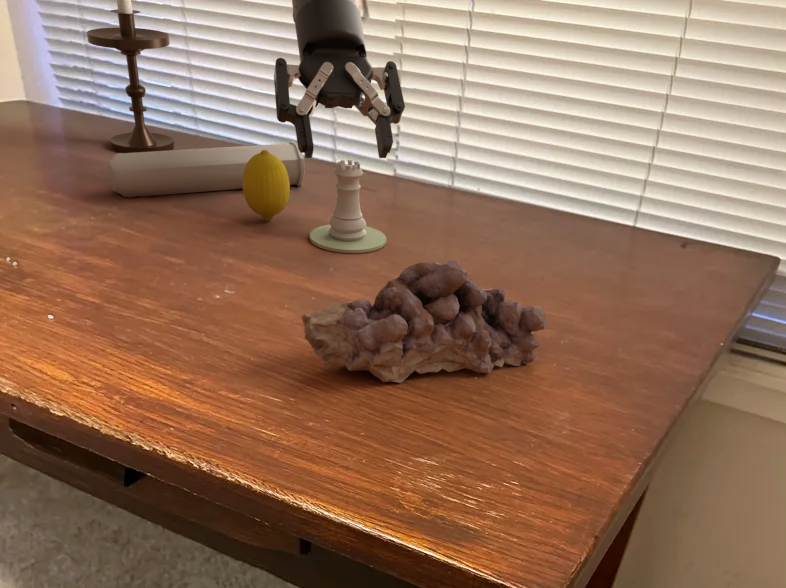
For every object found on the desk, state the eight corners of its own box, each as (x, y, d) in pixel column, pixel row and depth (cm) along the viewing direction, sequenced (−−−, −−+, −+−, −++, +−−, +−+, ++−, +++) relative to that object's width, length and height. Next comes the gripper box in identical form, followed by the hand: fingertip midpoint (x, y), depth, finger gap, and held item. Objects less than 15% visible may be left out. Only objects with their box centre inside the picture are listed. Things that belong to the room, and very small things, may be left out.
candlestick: (101, 155, 116) (49, -169, 94) (107, 136, 124) (60, -166, 102) (180, 156, 118) (147, -160, 96) (180, 137, 126) (150, -159, 104)
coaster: (306, 250, 92) (306, 247, 92) (312, 224, 99) (312, 221, 99) (386, 255, 92) (386, 252, 92) (386, 229, 99) (386, 225, 99)
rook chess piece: (371, 232, 97) (373, 160, 92) (359, 244, 93) (362, 170, 88) (335, 227, 98) (336, 155, 92) (323, 238, 94) (323, 165, 89)
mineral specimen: (496, 268, 76) (535, 214, 67) (535, 366, 76) (581, 327, 66) (291, 329, 71) (302, 280, 62) (332, 435, 71) (350, 402, 61)
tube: (110, 169, 98) (306, 156, 107) (100, 143, 100) (292, 133, 109) (114, 208, 102) (302, 193, 111) (104, 183, 104) (290, 169, 114)
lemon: (277, 211, 102) (275, 142, 97) (298, 224, 99) (297, 154, 94) (236, 216, 99) (232, 145, 94) (256, 230, 96) (253, 158, 91)
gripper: (267, -10, 86) (287, 134, 85) (395, -4, 90) (417, 134, 89) (262, 39, 94) (280, 173, 92) (381, 43, 97) (401, 172, 96)
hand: (347, 154), depth 91 cm, fingers open, 8 cm apart
